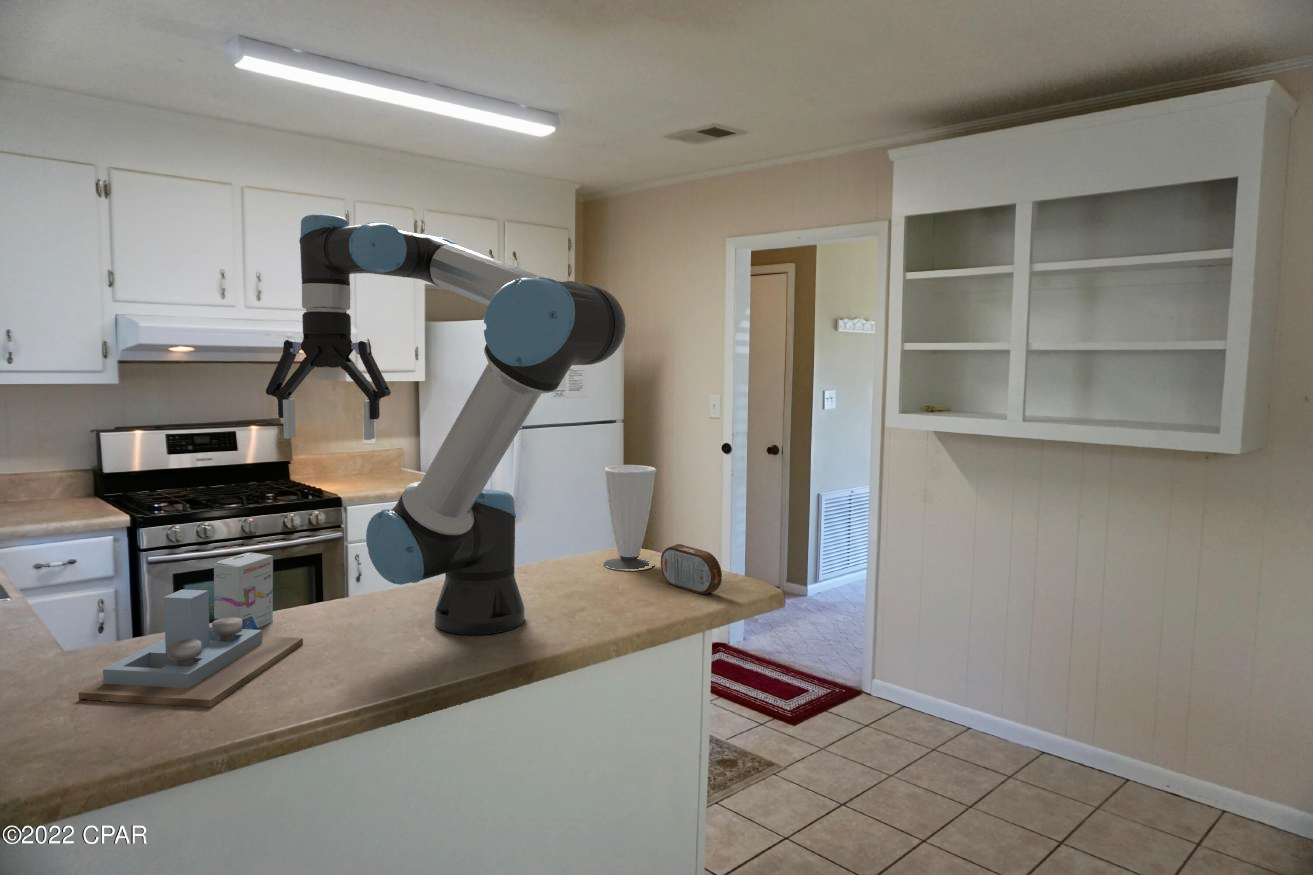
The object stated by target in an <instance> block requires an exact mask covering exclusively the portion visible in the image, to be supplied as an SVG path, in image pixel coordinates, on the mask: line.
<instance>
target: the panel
mask: <svg viewBox="0 0 1313 875" xmlns="http://www.w3.org/2000/svg"><path fill="white" fill-rule="evenodd" d="M209 602H210V600H209V590H205V589H204V590H203V589H200V590H199V589H183V588H182V589H180V590H178V591H175V592H173V593H170V594H168V595H166V596H163V609H164V610H163V611H164V612H163V614H164V615H163V616H164V638H161V639H159V640H158V641H156V642H154V643H152V644H150V645H148V646H146V647H144V648H142V649H141V650H138V651H136V652H135V653H134V652H133V653H132V654H130V655H128V656H126V657H124V658H123V659H121V660H118V661H117V662H114V663H112V664H110V665H108V666H107V667H104V668H102V677H103V679H102V680H103V682H104V684H118V685H136V686H154V687H172V688H191V687H192V686H194V685H195V684H197V683H199V682H200V681H202V680H203V679H205V678H207V677H208V676H210V675H211V674H213V673H215V672H216V671H218V670H219V669H221V668H223V667H224V666H226V665H227V664H229V663H231V662H232V661H234V660H235V659H237V658H239V657H240V656H242V655H243V654H245V653H247V652H248V651H250V650H251V649H253V648H255V647H256V646H258V645H259V644H261V643H262V636H263V629H256V630H252V629H242V631H241V632H239V633H237V634H235V640H234V641H232V642H231V641H220V636H217V635H213V634H212V626H211V627H210V609H209ZM190 639H193V640H199V641H201V655H199V656H197V657H195V658H193V663H194V664H193V665H191V666H177V660H171V659H169V658H168V645H169V644H171V643H173V642H177V641H181V640H190ZM149 666H157V667H162V668H147V667H149Z"/></svg>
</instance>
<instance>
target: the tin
mask: <svg viewBox="0 0 1313 875" xmlns="http://www.w3.org/2000/svg"><path fill="white" fill-rule="evenodd" d="M660 569H661V573H662V575H663V578H664V579H665V580H666V582H668V584H670V585H672V586H673V585H674V586H673V587H676V588H679V587H680V589H683V590H686V591H690V592H692V593H695V594H699V595H706V594H710V593H713V592H716V591H717V590H718V589H719V588H720V586H721V584H722V580H723V578H722V577H723V575H722V567H721V566H720V563H719V561H718V559H717V558H716V557H715V555H714V554H712V553H711V552H709V551H708V550H703V549H699V548H695V547H693V546H689V545H684V544H682V543H679V544H678V543H677V544H674V545H671V546H669V547H666V549H664V550H663V551H662V553H661V556H660Z"/></svg>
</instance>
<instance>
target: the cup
mask: <svg viewBox="0 0 1313 875" xmlns="http://www.w3.org/2000/svg"><path fill="white" fill-rule="evenodd" d="M657 471H658V470H657V469H656V468H655V467H653V466H649V465H641V464H640V465H639V464H638V465H637V464H621V465H620V464H618V465H609V466H606V467H605V468H604V472H605V482H606V483H605V484H606V490H607V492H606V493H607V503H608V508H609V509H608V510H609V516H610V521H611V526H612V533H613V537H614V541H615V546H616V549H617V552H618V556H619V557H618V558H611V559H608V560H605V561H604V562H603V563H604V565H603V567H604V566H608V567H610V568H615V569H639V568H644V567H645V566H649V563H648V562H649V561H650V560H649V561H646V560H647V559H645V560H641V559H642V558H640V553H641V549H642V548H643V547H642V546H643V543H644V540H645V537H646V532H647V526H648V523H649V518H650V517H649V516H650V513H651V506H652V501H653V495H654V494H653V493H654V487H655V479H656V478H655V477H656V473H657ZM637 558H640V559H637Z"/></svg>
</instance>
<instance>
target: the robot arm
mask: <svg viewBox="0 0 1313 875" xmlns="http://www.w3.org/2000/svg"><path fill="white" fill-rule="evenodd" d="M298 241H299V249H300V250H299V251H300V274H301V308H302V309H304V310H305V311H304V312H303V313H302V314H301V315H302V317H301V318H302V319H301V320H302V333H303V334H302V335H303V337H302V340H301V341H297V340H295V339H294V340H293V339H285V340H284V341H283V348H282V355H281V356H280V359H279V360H278V363H277V365H276V367H275V369H274V372H273V373H272V376H271V377H270V380H269V382H268V384H267V387H266V388H265V394H266V395H268V396H271V397H274V398H276V399H277V414H278V417H279V419H283V420H282V421H283V439H286V440H287V439H293V438H296V436H297V434H296V433H297V432H296V430H297V429H296V401H295V398H292V394H293V393H294V392H295V391H296V390H297V388H298V387H299V386H300V385H301V384H302V382H304V381H305V378H306V377H307V376H308V375H309V374H310V372H312V370H315V368H333V369H334V368H335V369H336V368H341V370H343V371H344V372H345V373H346V374H347V375H348V377H350V379H351V380H352V381H353V382H354V383H355V385H356V386H357V387H358V388H359V389H360V390H361V392H362V393H363V394H364V396H365V397H366V398H367V399H365V400H363V437H364V441H370V440H373V439H375V435H376V434H375V420H379V418H380V416H381V415H380V413H381V412H380V402H381V399H383V398H385V397H389V396H391V393H392V392H391V389H390V388H389V385H388V384H387V382H386V380H385V377H384V376H383V374H382V372H381V370H380V368H379V365H378V364H377V361H376V359H375V358H374V356H373V353H372V345H371V342H369V341H366V340H360V341H357V342H353V340H352V337H351V336H352V321H351V320H352V319H351V317H352V316H351V315H350V313H347V311H350V310H351V281H350V275H352V274H353V275H355V274H356V275H357V274H372V275H380V276H389V277H400V278H410V279H416V280H421V281H424V282H426V283H430V284H432V285H434V286H438V287H440V288H442V289H445V290H448V291H450V292H452V293H454V294H457V295H460V296H462V297H465V298H467V299H470V300H472V301H474V302H476V303H479V304H482V305H484V306H487V307H486V310H485V313H484V318H483V323H484V325H485V329H484V330H483V336H484V340H485V343H486V344H485V346H484V349H483V352H484V355H485V357H486V360H487V365H486V366H485V368H484V370H483V371H482V372H481V375H480V376H479V379H478V380H477V382H476V384H475V385H474V387H473V390H472V391H471V392H470V395H469V396H468V398H467V400H466V401H465V403H464V404H463V407H462V409H461V410H460V412H459V413H458V416H457V417H456V419H455V421H454V423H453V424H452V426H451V428H450V430H449V431H448V433H447V435H446V437H445V438H444V440H443V442H442V443H441V446H440V447H439V449H438V451H437V452H436V454H435V456H434V457H433V459H432V461H431V463H430V465H429V466H428V469H427V470H426V472H425V474H424V475H423V477H422V479H421V480H420V481H413V482H411V483H410V484H408V485H407V486H406V488H405V489H404V490H403V491H402V494H401V496H400V497H399V499H398V500H397V503H396V504H395V506H393V508H391V509H388V508H386V509H382V510H381V511H378V512H377V513H375V514H374V515H373V516H372V517H371V518H370V519H369V522H368V523H367V527H366V532H365V542H366V547H367V552H368V556H369V558H370V562H371V564H372V565H373V567H374V568H375V570H376V571H377V573H378V574H379V575H380V576H381V577H382V578H383V579H384V580H386V581H388V582H389V583H391V584H393V585H406V584H417V583H419V582H421V581H423V580H427V579H431V578H435V577H438V576H441V575H444V574H445V577H444V578H445V579H444V581H443V582H444V583H443V585H442V588H441V590H440V594H439V597H438V601H437V603H436V606H435V609H434V624H435V626H436V627H437V628H438V629H440V630H442V631H443V632H446V633H451V634H457V635H465V636H466V635H468V636H470V635H471V636H475V635H476V636H480V635H481V636H482V635H491V634H498V633H504V632H507V631H511V630H513V629H515V628H518V627H520V626H521V625H522V624H523V623H524V621H525V604H524V601H523V598H522V595H521V592H520V589H519V587H518V584H517V580H516V577H515V563H516V562H515V560H516V558H515V557H516V554H515V552H516V518H517V514H516V510H515V507H516V506H515V505H516V504H515V498H514V497H513V495H512V494H510V493H509V492H507V491H503V490H497V489H491V488H490V489H489V488H485V487H486V485H487V484H488V482H489V480H490V479H491V477H492V475H493V474H494V472H495V471H496V469H497V467H499V466H498V465H499V464H500V463H501V461H502V459H503V457H504V455H505V454H506V452H507V451H508V449H509V447H510V446H511V444H512V443H513V441H514V439H515V437H516V436H517V434H518V432H519V431H520V429H521V428H522V426H523V425H524V424H525V421H526V420H527V418H528V416H529V415H530V413H531V411H532V410H533V408H534V407H535V404H536V403H537V402H538V400H539V398H540V397H541V395H542V394H549V393H553V392H555V391H556V390H557V389H558V388H559V386H560V385H561V383H562V381H563V380H564V378H565V377H566V375H567V374H568V372H569V371H570V368H571V367H572V366H590V365H595V364H599V363H601V362H604V361H606V360H608V359H609V358H610V357H612V356H613V355H614V354H615V353H616V351H617V350H618V349H619V348H620V346H621V344H622V342H623V340H624V338H625V333H626V328H627V325H626V317H625V312H624V309H623V307H622V305H621V304H620V302H619V301H618V299H617V298H616V297H615V296H614V295H613V294H612V293H611V292H609V291H608V290H606V289H604V288H602V287H600V286H596V285H592V284H582V283H579V282H576V281H573V280H564V281H560V280H559V281H558V280H556V279H552V278H551V277H550V278H549V277H544V276H540V275H537V274H535V273H532V272H529V271H527V270H525V269H522V268H519V267H516V266H513V265H512V264H508V263H505V262H503V261H500V260H497V259H495V258H493V257H489V256H486V255H483V254H480V253H479V252H475V251H473V250H470V249H468V248H465V247H461V246H459V245H458V244H457V243H456V242H455V241H453V240H451V239H448V238H445V237H441V236H438V235H428V234H427V235H426V234H419V233H413V232H409V231H403V230H398V229H397V228H396V227H395V226H394V225H392V224H390V223H389V224H388V223H383V222H382V223H377V222H368V223H364V224H357V225H350V226H349V221H348V220H347V219H346V218H345V217H343V216H342V217H341V216H337V215H331V214H309V215H305V216H304V217H302V218H301V220H300V237H299V240H298ZM301 351H302V352H303V353H304V355H305V357H304V358H303V359H302V360H301V361H300V363H299V365H298V367H297V368H296V370H294V372H293V373H292V374H291V376H290V377H289V378H288V379H287V377H288V375H289V373H290V370H291V369H292V366H293V363H294V362H295V359H296V357H297V354H299V353H300V352H301ZM354 351H355V352H356V354H357V355H358V356H359V358H360V360H361V362H362V364H363V366H364V368H365V370H366V372H367V374H368V376H369V378H370V380H371V382H372V383H373V385H372V383H371V382H370V381H369V380H368V379H367V378H366V376H365V375H364V374H363V373H362V372H361V370H360V369H359V368H358V367H357V366H356V363H355V362H354V361H353V359H352V358H351V357H350V355H351V354H352V353H353V352H354ZM286 379H287V380H286ZM285 381H286V382H285Z"/></svg>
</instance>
